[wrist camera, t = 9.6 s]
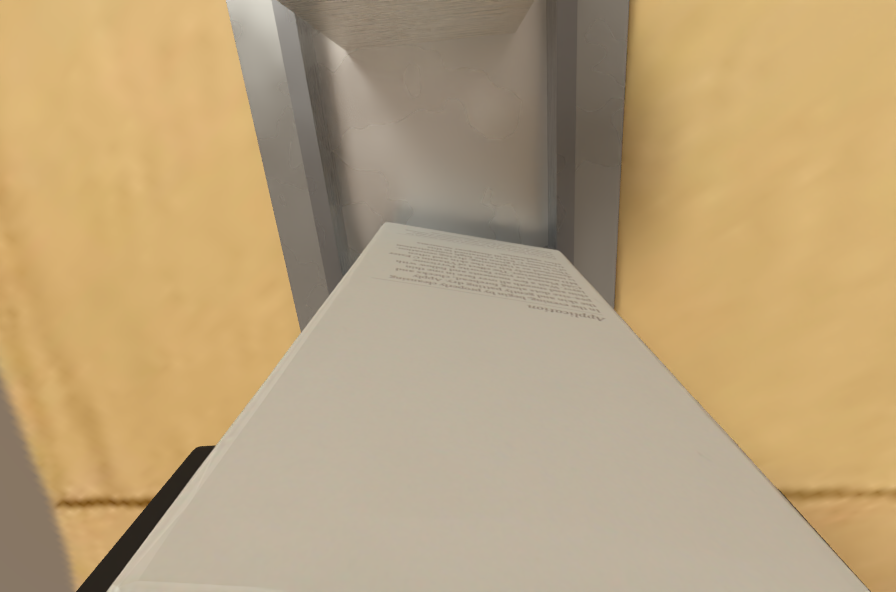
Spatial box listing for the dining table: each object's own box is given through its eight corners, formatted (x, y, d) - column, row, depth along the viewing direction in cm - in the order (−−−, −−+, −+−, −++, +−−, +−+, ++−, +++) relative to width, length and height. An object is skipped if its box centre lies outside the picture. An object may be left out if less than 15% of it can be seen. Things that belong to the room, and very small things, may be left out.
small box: (515, 435, 18) (643, 1087, 6) (361, 413, 18) (149, 1046, 5) (565, 245, 15) (1037, 737, 3) (382, 214, 15) (38, 614, 3)
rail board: (624, -196, 13) (1352, -1611, 2) (598, 446, 22) (738, 758, 11) (209, -143, 14) (-642, -1089, 3) (340, 461, 22) (231, 769, 12)
